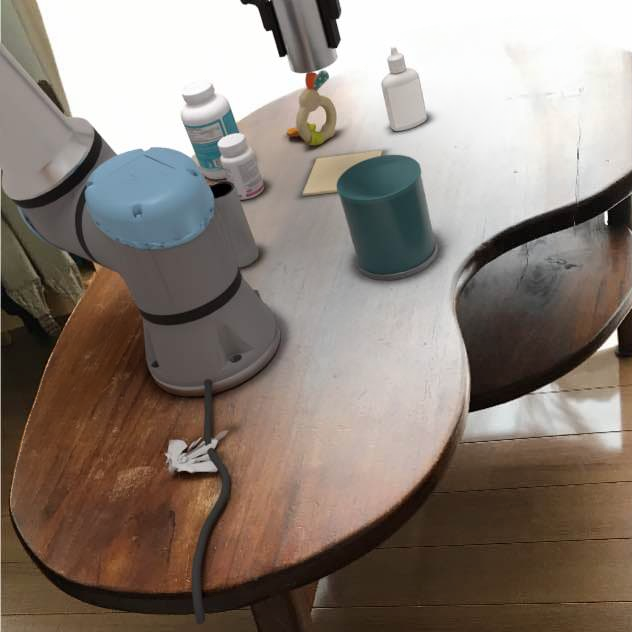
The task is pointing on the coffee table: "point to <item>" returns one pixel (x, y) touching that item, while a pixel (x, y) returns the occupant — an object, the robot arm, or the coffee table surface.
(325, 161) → the mat
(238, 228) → the grey hollow tube
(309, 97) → the rattle
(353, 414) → the coffee table surface
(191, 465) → the flower
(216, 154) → the pill bottle
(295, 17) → the cup
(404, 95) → the eye dropper bottle
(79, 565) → the coffee table surface
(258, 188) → the pill bottle
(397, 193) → the teal tin can
